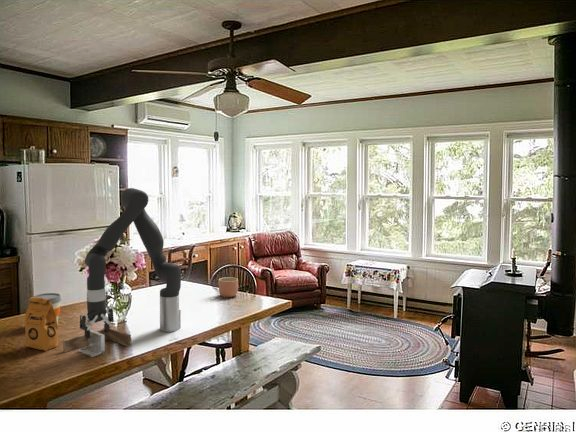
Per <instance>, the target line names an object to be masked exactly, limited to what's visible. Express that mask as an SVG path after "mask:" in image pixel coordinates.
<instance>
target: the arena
mask: <svg viewBox="0 0 576 432" xmlns="http://www.w3.org/2000/svg"><path fill="white" fill-rule="evenodd" d="M100 329H101V330H99V329H96V330H97V331H96V330H95V331H96V332H99V333H101V334H104V335H105V341H107V340H110V341H113V342H115V343H118V344H121V345H123V346H125V347H127V348H128V347H131V346H132V342H131V341H132V340H131V339H132V337H131V336H132V334H129V333H126V332H125V331H121V330H119V329H116V328H113V327H111V326H109V332H108V333H105V332H104V328H100ZM88 346H89V344H88V338H86V337H85V333H84V334H80V335H76V336H73V337H69V338H65V339H63V340H62V352H63V353H68V352H70V351H73V350H77V349H81V348H84V347H88Z"/></svg>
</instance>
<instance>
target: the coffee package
mask: <svg viewBox="0 0 576 432" xmlns="http://www.w3.org/2000/svg"><path fill="white" fill-rule="evenodd" d="M28 301H29V304H28V307H27V310H26V312H25V315H24V328H25V331H24V332H25V334H24V336H25V347H27V348H32V349H36V350H39V351H46V352H47V351H48V350H52V349H54V348H57V347H58V346H59V337H58V336H59V327H58V324H57V318H56V314H55V311H54V309H53V306H52V303H51V301H50V299H44V298H36V297H34V296H31V297H30V298H29V299H28Z"/></svg>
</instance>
